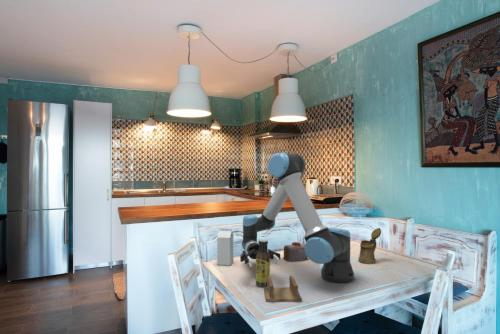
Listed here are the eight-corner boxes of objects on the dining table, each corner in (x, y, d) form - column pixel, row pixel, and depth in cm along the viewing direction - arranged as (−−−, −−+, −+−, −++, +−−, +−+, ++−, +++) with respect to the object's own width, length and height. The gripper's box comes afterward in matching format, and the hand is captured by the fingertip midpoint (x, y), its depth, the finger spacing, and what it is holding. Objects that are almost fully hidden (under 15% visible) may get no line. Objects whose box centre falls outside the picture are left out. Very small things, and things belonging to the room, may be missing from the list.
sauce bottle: (252, 285, 142) (252, 240, 142) (261, 281, 147) (261, 237, 147) (263, 288, 138) (263, 242, 138) (272, 284, 143) (272, 240, 143)
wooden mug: (385, 262, 176) (385, 229, 176) (365, 264, 171) (365, 231, 171) (374, 257, 184) (374, 226, 184) (354, 260, 179) (354, 228, 179)
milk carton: (230, 266, 170) (230, 230, 170) (217, 265, 171) (217, 229, 171) (233, 262, 177) (233, 227, 177) (221, 261, 178) (221, 227, 178)
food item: (302, 256, 188) (302, 239, 188) (310, 259, 181) (310, 242, 181) (282, 259, 182) (282, 241, 182) (289, 263, 175) (289, 245, 175)
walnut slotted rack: (296, 289, 137) (296, 275, 137) (301, 301, 125) (301, 285, 125) (263, 290, 137) (263, 275, 137) (266, 301, 125) (266, 286, 125)
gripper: (276, 255, 163) (291, 269, 141) (230, 258, 158) (237, 273, 136) (276, 241, 163) (290, 252, 141) (230, 243, 158) (237, 255, 136)
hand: (264, 262), depth 139 cm, fingers open, 11 cm apart
